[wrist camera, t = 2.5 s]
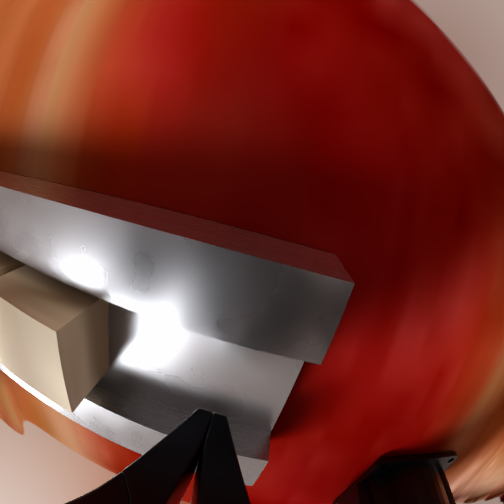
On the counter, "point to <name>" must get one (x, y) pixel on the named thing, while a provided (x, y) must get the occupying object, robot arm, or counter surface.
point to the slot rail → (179, 311)
